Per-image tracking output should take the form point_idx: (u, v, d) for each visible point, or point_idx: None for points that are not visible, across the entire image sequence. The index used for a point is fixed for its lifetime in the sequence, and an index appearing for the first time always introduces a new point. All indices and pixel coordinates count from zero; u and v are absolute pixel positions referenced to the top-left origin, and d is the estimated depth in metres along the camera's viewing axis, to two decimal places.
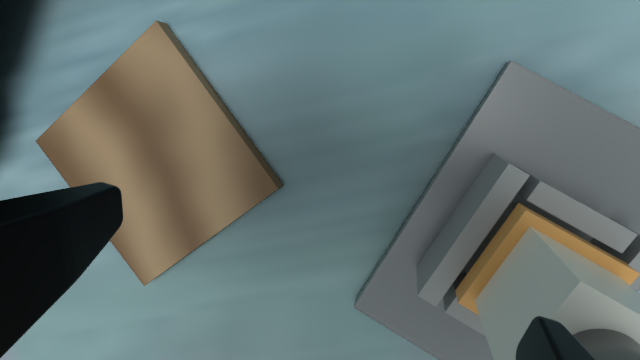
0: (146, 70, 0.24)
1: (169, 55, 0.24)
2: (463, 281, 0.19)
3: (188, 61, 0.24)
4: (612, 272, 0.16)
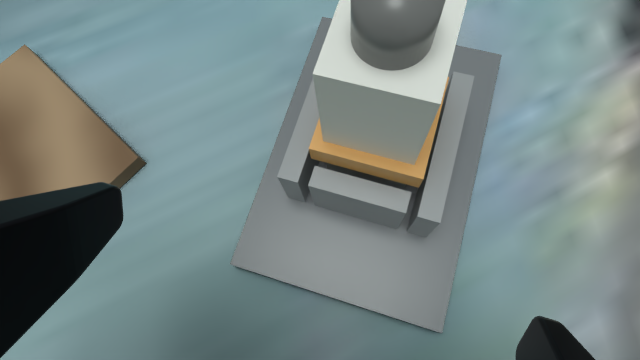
0: (8, 83, 0.26)
1: (33, 67, 0.26)
2: None
3: (52, 71, 0.26)
4: None
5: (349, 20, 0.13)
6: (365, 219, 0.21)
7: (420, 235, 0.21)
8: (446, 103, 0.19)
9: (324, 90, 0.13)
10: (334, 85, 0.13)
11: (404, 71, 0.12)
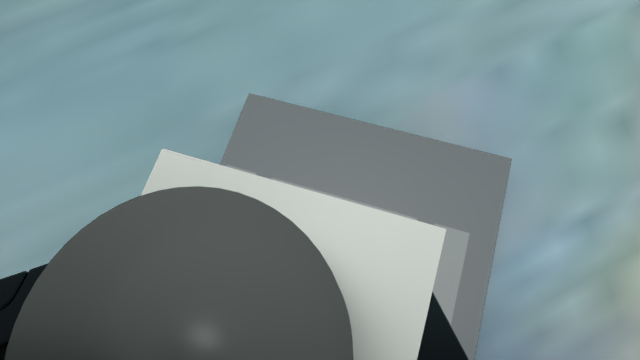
0: None
1: None
2: None
3: None
4: None
5: None
6: None
7: None
8: None
9: None
10: None
11: None
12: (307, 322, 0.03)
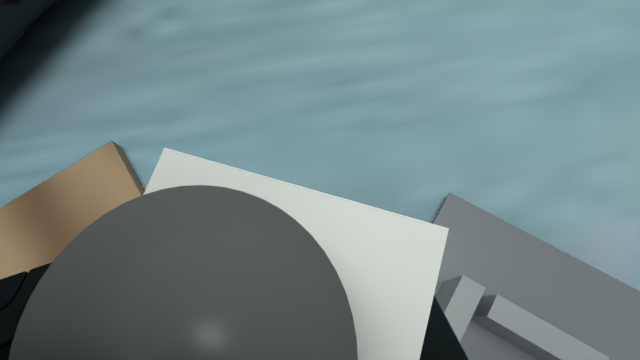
0: (86, 185, 0.23)
1: (116, 172, 0.23)
2: None
3: (134, 179, 0.23)
4: None
5: None
6: None
7: None
8: None
9: None
10: None
11: None
12: (311, 321, 0.03)
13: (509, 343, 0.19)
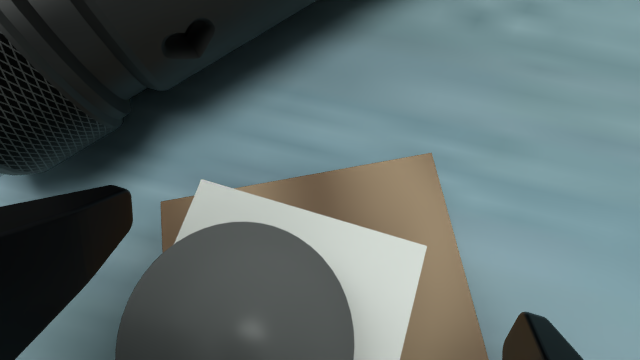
0: (384, 199, 0.17)
1: (429, 198, 0.17)
2: None
3: (446, 216, 0.17)
4: None
5: None
6: None
7: None
8: None
9: None
10: None
11: None
12: (323, 317, 0.04)
13: None
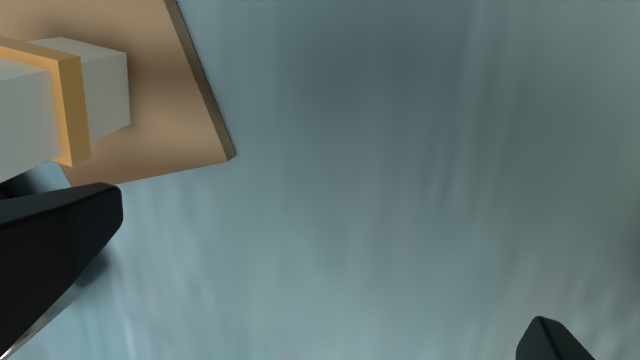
0: (11, 37, 0.23)
1: None
2: None
3: None
4: None
5: None
6: None
7: None
8: None
9: None
10: None
11: None
12: None
13: None
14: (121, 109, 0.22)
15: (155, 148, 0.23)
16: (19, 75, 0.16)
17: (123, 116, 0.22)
